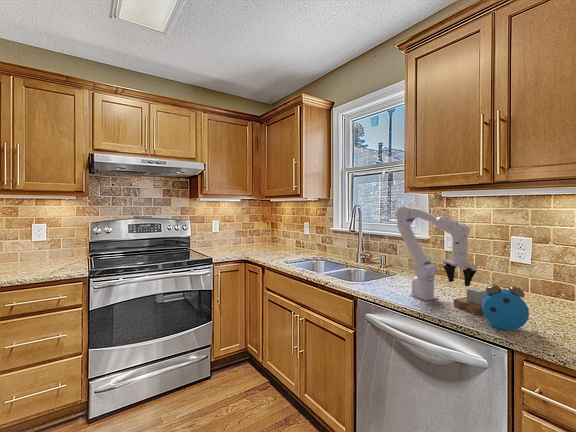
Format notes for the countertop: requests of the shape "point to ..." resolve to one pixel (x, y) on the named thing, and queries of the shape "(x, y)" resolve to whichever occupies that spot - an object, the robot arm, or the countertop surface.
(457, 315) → the countertop surface
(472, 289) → the slate cube
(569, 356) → the countertop surface
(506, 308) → the alarm clock
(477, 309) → the walnut base
